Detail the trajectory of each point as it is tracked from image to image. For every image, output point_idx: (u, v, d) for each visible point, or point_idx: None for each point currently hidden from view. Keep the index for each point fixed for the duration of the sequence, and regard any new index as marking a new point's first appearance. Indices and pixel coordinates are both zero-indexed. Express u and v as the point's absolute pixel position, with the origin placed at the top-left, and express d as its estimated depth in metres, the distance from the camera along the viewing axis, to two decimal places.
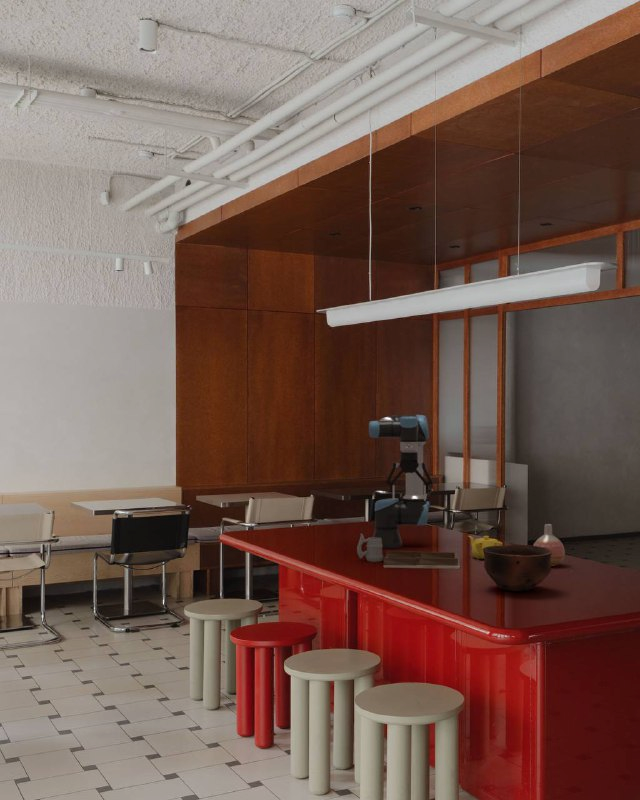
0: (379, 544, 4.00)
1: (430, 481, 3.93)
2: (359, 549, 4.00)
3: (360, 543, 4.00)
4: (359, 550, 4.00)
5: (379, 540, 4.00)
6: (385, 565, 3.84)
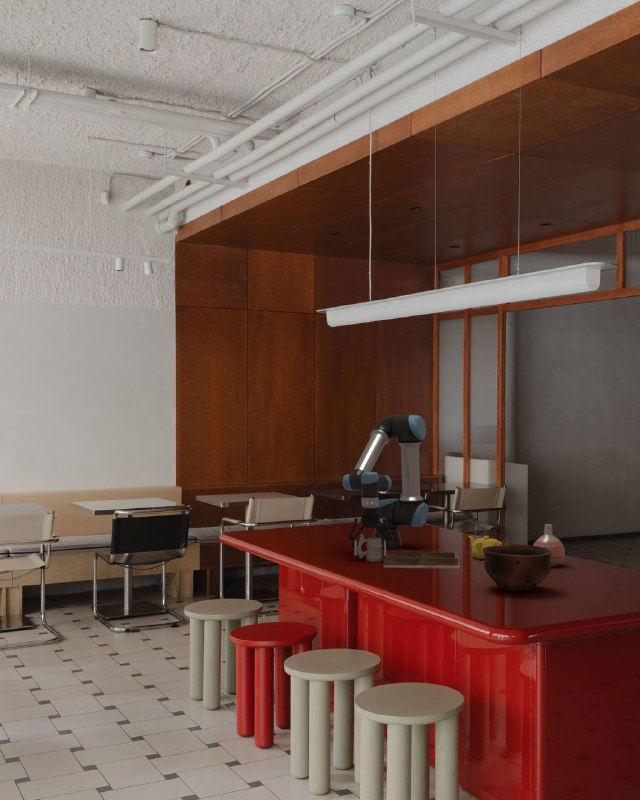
0: (379, 544, 4.00)
1: (390, 537, 3.99)
2: (359, 549, 4.00)
3: (360, 543, 4.00)
4: (359, 550, 4.00)
5: (379, 540, 4.00)
6: (385, 565, 3.84)
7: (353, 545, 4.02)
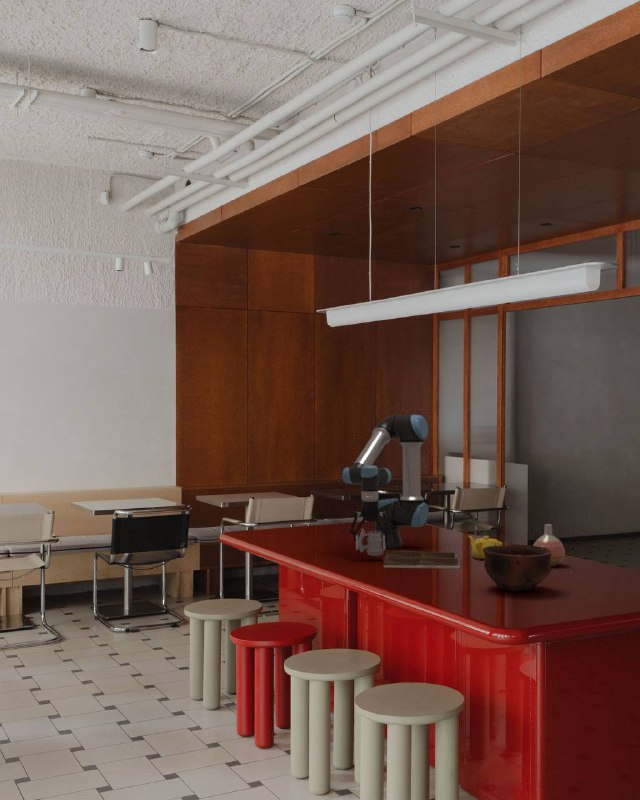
0: (380, 538, 4.00)
1: (389, 531, 4.00)
2: (359, 543, 4.00)
3: (361, 537, 4.01)
4: (360, 544, 4.00)
5: (380, 534, 4.00)
6: (385, 565, 3.84)
7: (354, 539, 4.02)
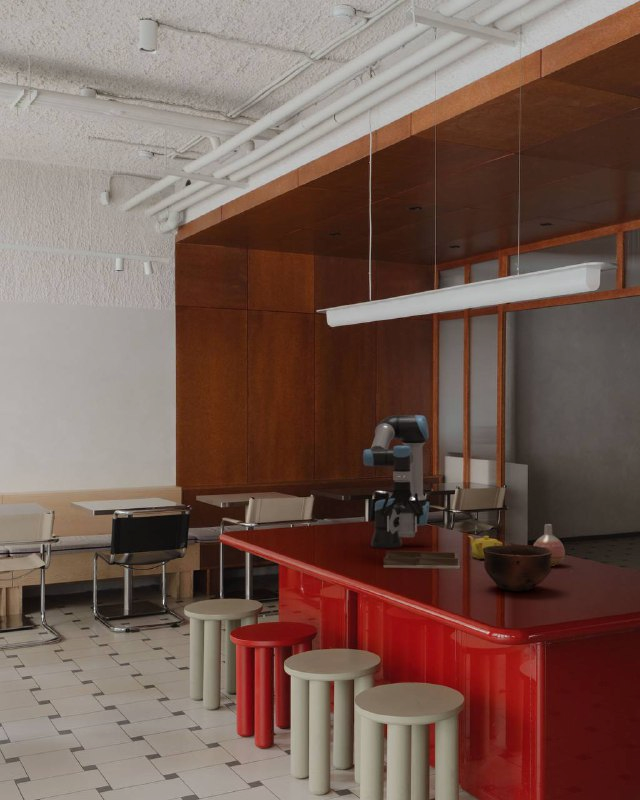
0: (411, 519, 3.91)
1: (421, 512, 3.91)
2: (391, 524, 3.91)
3: (392, 518, 3.91)
4: (391, 525, 3.91)
5: (412, 515, 3.91)
6: (385, 565, 3.84)
7: (385, 521, 3.93)
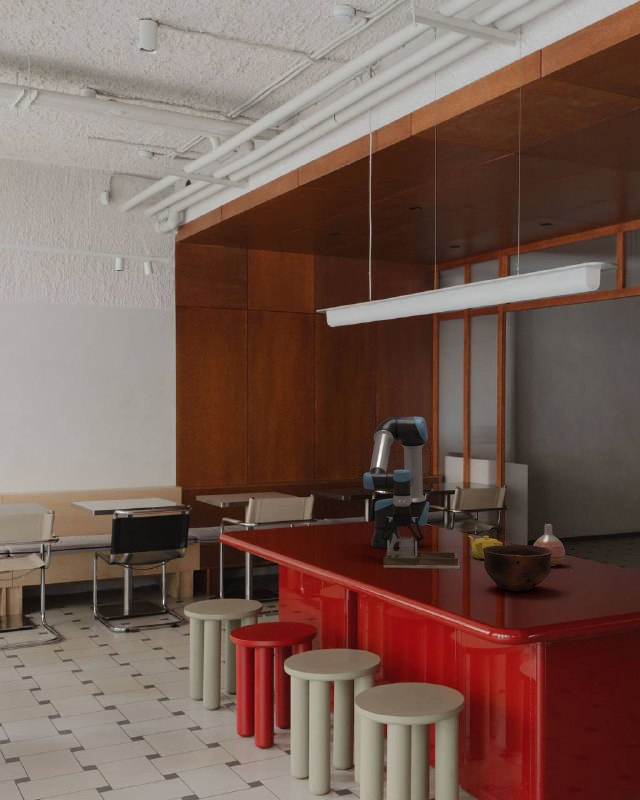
0: (412, 544, 3.91)
1: (421, 536, 3.91)
2: (391, 549, 3.91)
3: (392, 543, 3.91)
4: (391, 550, 3.91)
5: (412, 540, 3.91)
6: (385, 565, 3.84)
7: (386, 545, 3.93)
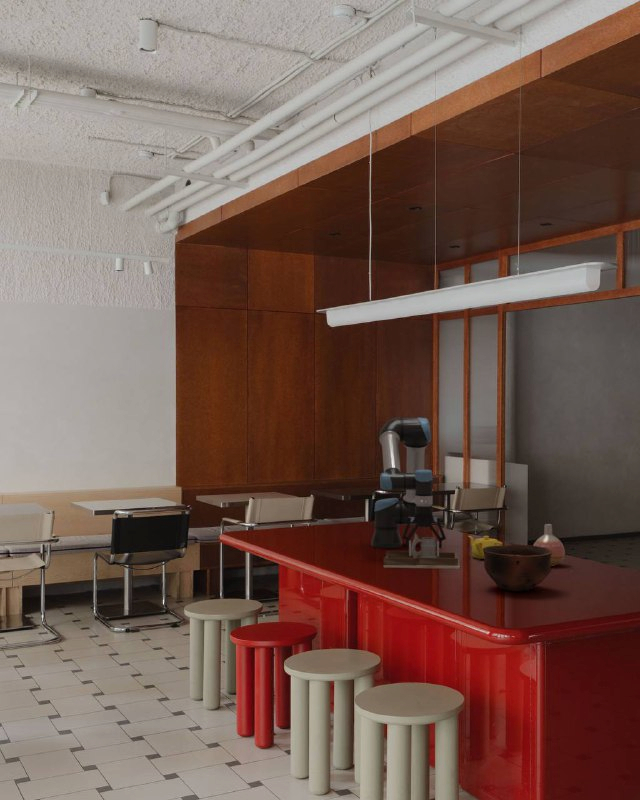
0: (434, 544, 3.89)
1: (443, 537, 3.89)
2: (413, 549, 3.90)
3: (414, 543, 3.90)
4: (413, 550, 3.90)
5: (434, 540, 3.90)
6: (385, 565, 3.84)
7: (407, 545, 3.92)
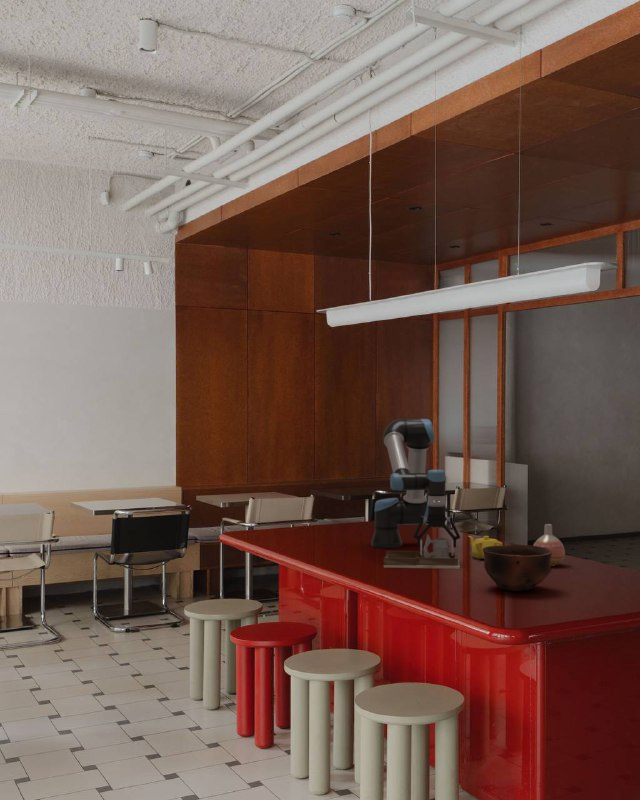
0: (446, 545, 3.89)
1: (458, 536, 3.89)
2: (425, 550, 3.89)
3: (426, 544, 3.90)
4: (425, 551, 3.89)
5: (446, 541, 3.89)
6: (385, 565, 3.84)
7: (419, 544, 3.91)
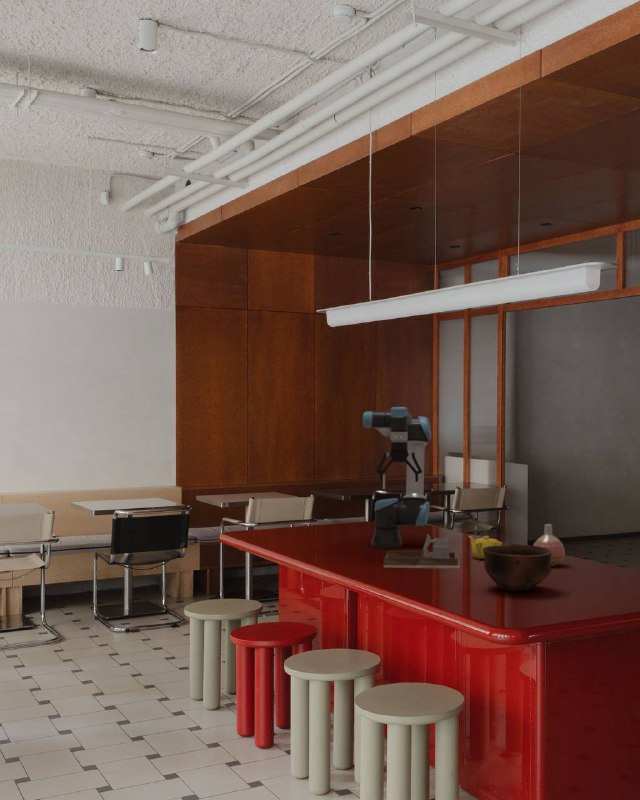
0: (446, 545, 3.89)
1: (420, 470, 4.00)
2: (425, 550, 3.89)
3: (427, 544, 3.90)
4: (426, 551, 3.89)
5: (446, 541, 3.89)
6: (385, 565, 3.84)
7: (381, 479, 4.03)
